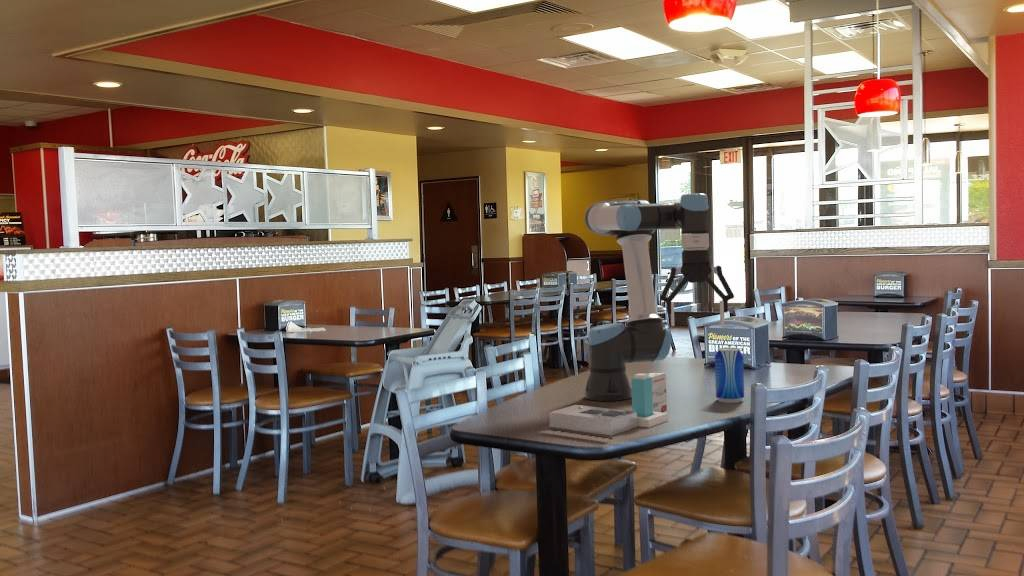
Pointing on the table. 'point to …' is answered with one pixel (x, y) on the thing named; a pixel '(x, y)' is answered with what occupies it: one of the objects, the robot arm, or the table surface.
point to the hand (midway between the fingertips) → (697, 325)
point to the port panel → (593, 420)
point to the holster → (652, 419)
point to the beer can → (729, 375)
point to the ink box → (659, 391)
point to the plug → (642, 395)
